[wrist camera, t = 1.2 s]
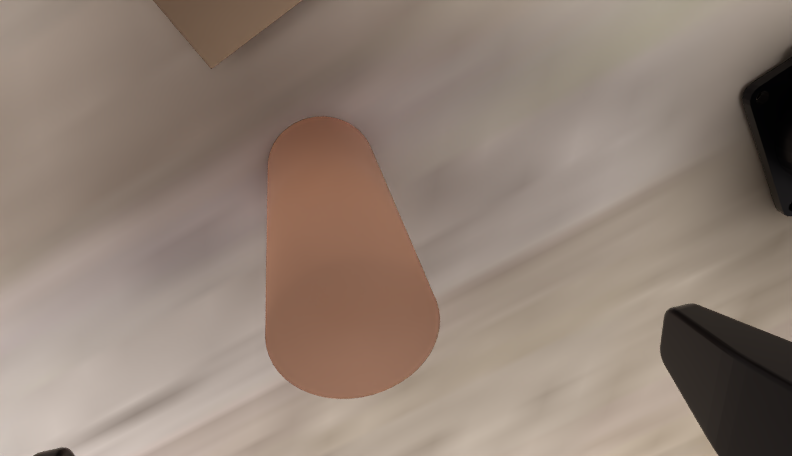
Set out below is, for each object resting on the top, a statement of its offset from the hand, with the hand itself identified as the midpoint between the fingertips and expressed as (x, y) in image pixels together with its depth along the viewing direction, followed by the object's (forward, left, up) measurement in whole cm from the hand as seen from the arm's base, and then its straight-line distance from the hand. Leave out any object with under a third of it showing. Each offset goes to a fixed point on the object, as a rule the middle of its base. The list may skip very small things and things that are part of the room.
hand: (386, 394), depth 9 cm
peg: (-1, +1, -12) cm, 12 cm away
